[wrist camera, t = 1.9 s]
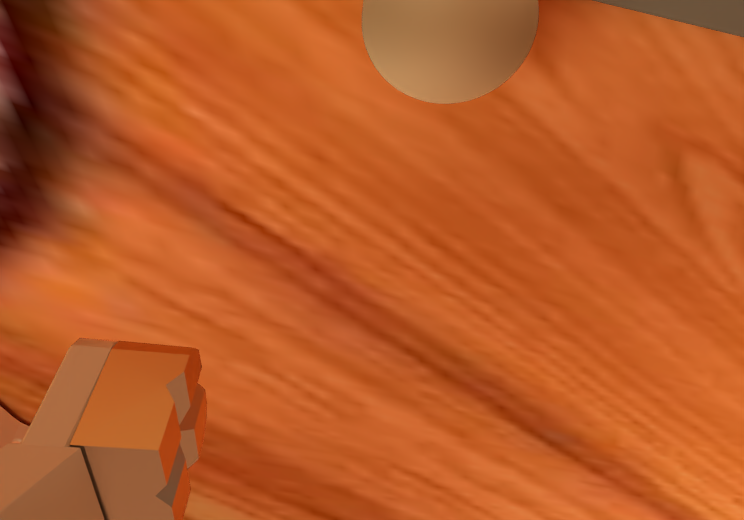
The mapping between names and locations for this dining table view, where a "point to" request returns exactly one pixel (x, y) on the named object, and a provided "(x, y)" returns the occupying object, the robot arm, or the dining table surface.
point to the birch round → (448, 44)
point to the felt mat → (693, 12)
